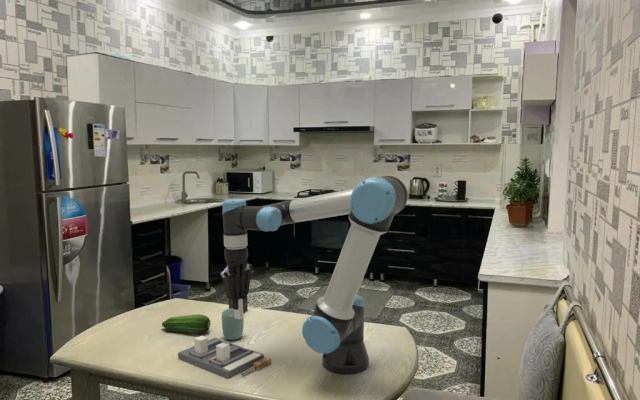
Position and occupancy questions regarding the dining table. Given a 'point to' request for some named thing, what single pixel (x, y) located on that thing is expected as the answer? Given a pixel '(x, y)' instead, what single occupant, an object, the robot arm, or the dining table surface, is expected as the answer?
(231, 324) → the cup
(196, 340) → the tab
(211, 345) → the switch board
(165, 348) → the dining table surface
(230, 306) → the box
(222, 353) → the tab
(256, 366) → the screwdriver
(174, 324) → the vegetable
